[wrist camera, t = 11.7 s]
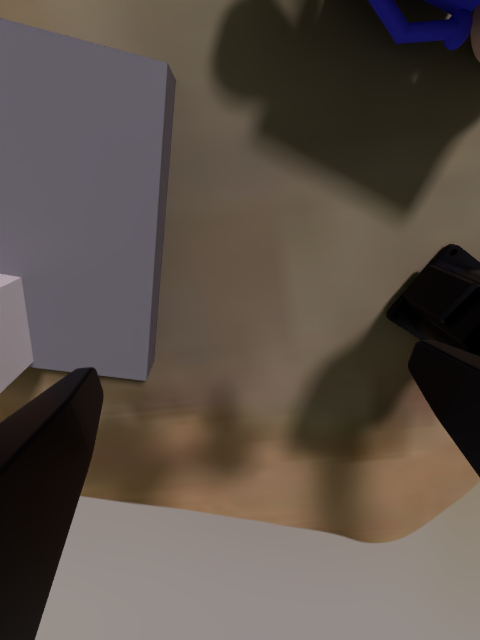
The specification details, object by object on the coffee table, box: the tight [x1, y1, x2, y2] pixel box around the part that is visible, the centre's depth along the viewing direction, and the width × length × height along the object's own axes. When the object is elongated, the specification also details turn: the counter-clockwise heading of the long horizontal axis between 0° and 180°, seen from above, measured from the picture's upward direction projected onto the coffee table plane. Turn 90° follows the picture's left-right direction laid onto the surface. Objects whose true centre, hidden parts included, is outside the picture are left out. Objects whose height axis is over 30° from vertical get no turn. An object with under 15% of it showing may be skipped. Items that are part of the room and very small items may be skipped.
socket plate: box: [0, 18, 176, 381], centre depth 17 cm, size 14×18×2 cm
